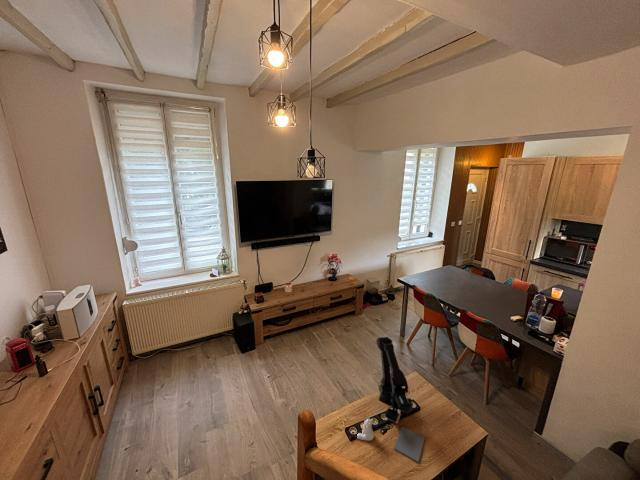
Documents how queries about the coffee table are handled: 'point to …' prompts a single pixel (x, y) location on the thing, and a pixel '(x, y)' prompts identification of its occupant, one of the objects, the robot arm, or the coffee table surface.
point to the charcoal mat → (409, 444)
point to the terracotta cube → (398, 416)
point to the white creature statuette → (366, 431)
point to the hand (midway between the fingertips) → (394, 416)
